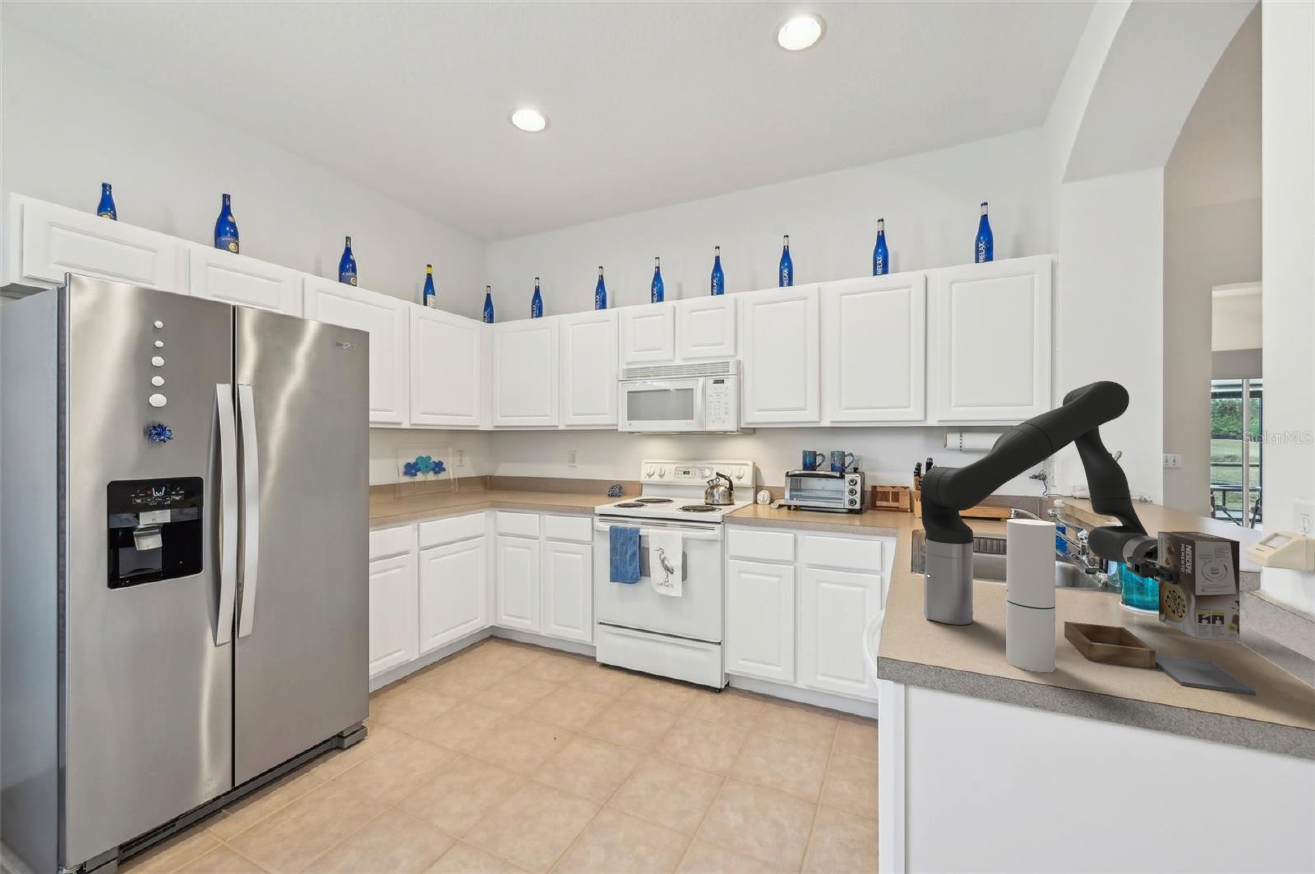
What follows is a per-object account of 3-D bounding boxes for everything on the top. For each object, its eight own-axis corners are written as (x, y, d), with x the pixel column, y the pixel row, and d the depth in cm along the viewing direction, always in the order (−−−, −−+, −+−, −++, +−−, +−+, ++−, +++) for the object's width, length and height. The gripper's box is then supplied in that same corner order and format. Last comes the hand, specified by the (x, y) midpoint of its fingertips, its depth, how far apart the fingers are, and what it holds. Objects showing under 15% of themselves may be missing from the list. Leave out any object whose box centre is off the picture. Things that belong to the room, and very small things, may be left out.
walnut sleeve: (1088, 660, 98) (1088, 643, 98) (1064, 636, 110) (1064, 621, 110) (1155, 668, 95) (1155, 651, 95) (1123, 642, 107) (1123, 627, 107)
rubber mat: (1181, 685, 88) (1181, 681, 88) (1145, 657, 100) (1145, 654, 100) (1255, 695, 85) (1255, 691, 85) (1209, 665, 96) (1209, 661, 96)
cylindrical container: (1050, 660, 98) (1050, 520, 98) (1059, 675, 92) (1060, 526, 92) (1003, 653, 101) (1003, 518, 101) (1009, 668, 95) (1010, 523, 95)
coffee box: (1242, 642, 87) (1242, 541, 87) (1195, 639, 89) (1194, 540, 89) (1198, 622, 96) (1198, 530, 96) (1156, 620, 98) (1156, 529, 98)
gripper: (1109, 536, 108) (1150, 554, 93) (1203, 541, 103) (1262, 561, 88) (1109, 574, 108) (1150, 599, 93) (1203, 581, 103) (1262, 607, 88)
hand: (1204, 580), depth 90 cm, fingers closed on coffee box, 7 cm apart
